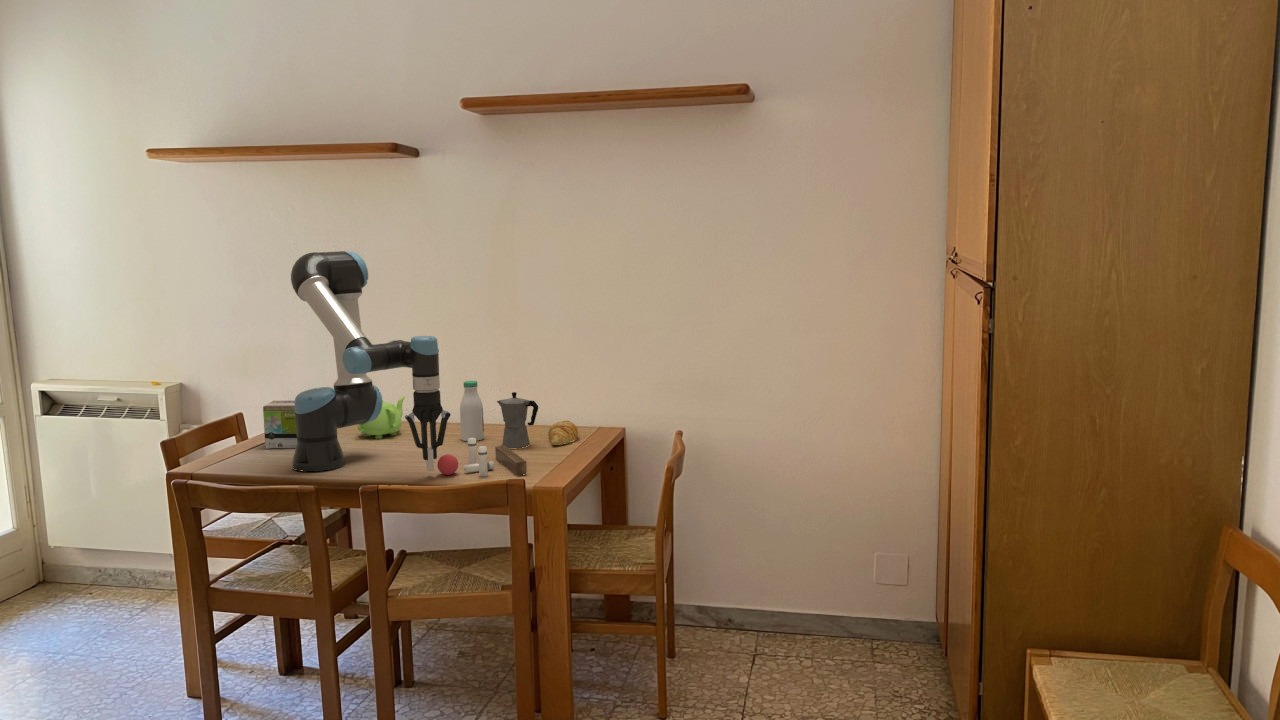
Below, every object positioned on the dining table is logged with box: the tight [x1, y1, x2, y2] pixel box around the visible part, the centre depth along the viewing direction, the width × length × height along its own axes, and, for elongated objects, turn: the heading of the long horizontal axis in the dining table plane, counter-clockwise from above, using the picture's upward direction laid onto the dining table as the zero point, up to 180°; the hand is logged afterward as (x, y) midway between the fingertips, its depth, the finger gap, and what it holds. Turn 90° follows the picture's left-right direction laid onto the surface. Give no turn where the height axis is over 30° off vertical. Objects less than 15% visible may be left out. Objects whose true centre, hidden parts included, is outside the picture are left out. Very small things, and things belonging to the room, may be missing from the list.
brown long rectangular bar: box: [495, 445, 528, 476], centre depth 280 cm, size 3×22×4 cm, turn 25°
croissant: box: [547, 420, 579, 446], centre depth 313 cm, size 21×10×8 cm, turn 169°
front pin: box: [463, 460, 495, 474], centre depth 275 cm, size 3×3×8 cm
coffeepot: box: [496, 391, 539, 449], centre depth 304 cm, size 15×9×18 cm, turn 66°
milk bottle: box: [459, 380, 485, 442], centre depth 315 cm, size 8×8×20 cm
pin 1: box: [467, 438, 478, 465], centre depth 281 cm, size 3×3×8 cm
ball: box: [437, 453, 459, 476], centre depth 272 cm, size 6×6×6 cm
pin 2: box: [477, 445, 489, 478], centre depth 270 cm, size 3×3×8 cm
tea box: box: [262, 400, 297, 450], centre depth 310 cm, size 15×10×15 cm
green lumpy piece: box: [357, 396, 406, 440], centre depth 325 cm, size 16×14×13 cm
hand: (430, 470), depth 270 cm, fingers closed
